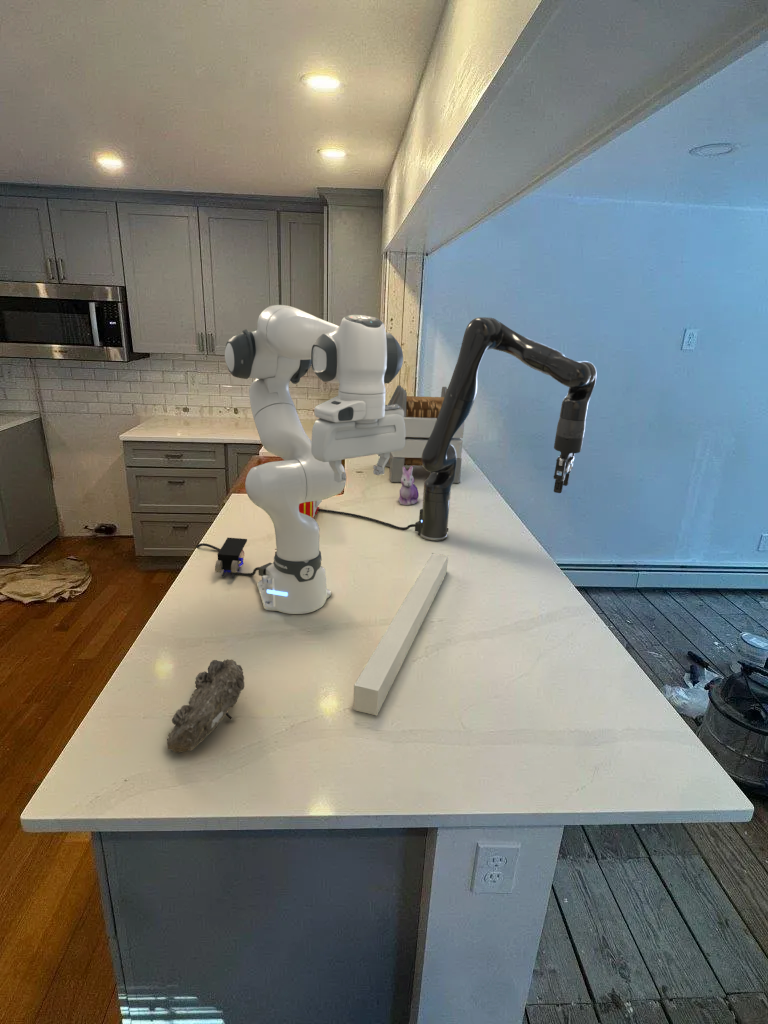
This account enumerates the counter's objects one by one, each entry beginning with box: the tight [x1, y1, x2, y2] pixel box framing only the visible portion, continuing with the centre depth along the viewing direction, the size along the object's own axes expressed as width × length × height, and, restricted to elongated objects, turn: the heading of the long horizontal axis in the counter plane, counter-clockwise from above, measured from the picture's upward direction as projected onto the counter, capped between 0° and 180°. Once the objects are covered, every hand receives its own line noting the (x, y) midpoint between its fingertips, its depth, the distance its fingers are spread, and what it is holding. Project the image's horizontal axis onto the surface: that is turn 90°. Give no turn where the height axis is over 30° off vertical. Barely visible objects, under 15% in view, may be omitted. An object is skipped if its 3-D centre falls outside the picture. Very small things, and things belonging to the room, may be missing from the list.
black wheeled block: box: [214, 537, 248, 578], centre depth 166 cm, size 7×8×15 cm
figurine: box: [398, 466, 420, 506], centre depth 230 cm, size 9×10×15 cm
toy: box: [299, 500, 323, 519], centre depth 209 cm, size 12×13×30 cm
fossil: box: [166, 658, 245, 754], centre depth 106 cm, size 22×10×15 cm
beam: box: [352, 552, 449, 717], centre depth 141 cm, size 68×5×6 cm, turn 163°
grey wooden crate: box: [385, 384, 465, 484], centre depth 268 cm, size 34×33×41 cm
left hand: (359, 477), depth 111 cm, fingers open, 8 cm apart
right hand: (560, 488), depth 166 cm, fingers open, 8 cm apart
